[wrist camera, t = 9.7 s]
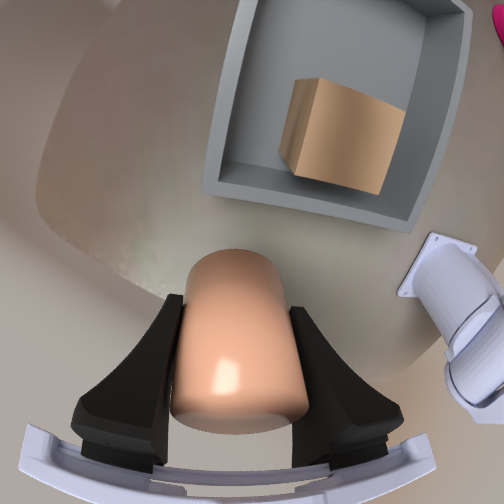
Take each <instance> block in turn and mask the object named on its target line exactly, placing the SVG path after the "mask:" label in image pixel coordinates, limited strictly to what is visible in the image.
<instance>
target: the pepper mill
mask: <svg viewBox="0 0 504 504" xmlns="http://www.w3.org/2000/svg"><path fill="white" fill-rule="evenodd" d="M493 20H494V24H495V28H496V31H497V33H498V35H499V38H500V40H501V41H502V43H503V45H504V5H496V6H495V7H494V8H493Z"/></svg>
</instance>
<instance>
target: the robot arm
mask: <svg viewBox="0 0 504 504" xmlns="http://www.w3.org/2000/svg"><path fill="white" fill-rule="evenodd" d="M476 251H477V247H476V246H475V245H473V244H470V243H467V242H464V241H461V240H457V239H454V238H451V237H448V236H444V235H441V234H438V233H434V232H432V233H430V234H429V236H428V238H427V240H426V242H425V244H424V246H423V247H422V249H421V251H420V253H419V255H418V257H417V259H416V260H415V262H414V264H413V266H412V267H411V269H410V271H409V273H408V274H407V276H406V278H405V279H404V281H403V283H402V284H401V286H400V288H399V289H398V291H397V294H398V296H401V297H418V298H419V299H420V301H421V302H422V304H423V305H424V307H425V309H426V310H427V312H428V313H429V315H430V317H431V318H432V320H433V321H434V323H435V325H436V326H437V328H438V330H439V331H440V333H441V335H442V336H443V338H444V340H445V342H446V343H447V345H448V347H449V348H448V349H447V350H446V352H445V355H446V357H447V359H448V361H447V363H446V365H445V370H444V373H445V382H446V386H447V389H448V391H449V393H450V395H451V396H452V397H453V399H454V400H455V401H456V402H457V403H458V404H459V405H461V406H462V407H464V408H465V409H466V410H467V412H468V413H469V414H470V415H471V417H472V418H473V420H474V422H475V423H478V424H503V425H504V387H502V388H501V389H499V390H497V389H498V388H499V387H500V386H501V385H503V384H504V292H503V289H502V287H501V285H500V283H499V282H498V281H497V280H496V279H495V277H494V276H493V275H492V274H491V273H490V272H489V271H488V269H487V268H486V267H485V266H484V265H483V264H482V263H481V262H480V261H479V260H478V259H477V257H476V256H475V255H474V254H475V252H476ZM182 308H183V295H177V294H169V295H168V296H167V298H166V300H165V303H164V305H163V306H162V308H161V310H160V312H159V313H158V315H157V317H156V318H155V320H154V321H153V323H152V324H151V326H150V328H149V329H148V330H147V332H146V333H145V334H144V336H143V337H142V339H141V340H140V341H139V343H138V344H137V345H136V347H135V348H134V349H133V350H132V351H131V352H130V354H129V355H128V356H127V357H126V358H125V359H124V360H123V361H122V362H121V363H120V364H119V366H117V367H116V369H114V370H113V371H112V372H111V373H110V374H109V375H108V376H107V377H106V378H104V379H103V380H102V381H101V382H100V383H99V384H97V386H95V387H94V388H92V389H91V390H90V391H88V392H87V393H86V394H84V395H83V396H81V397H80V399H79V401H78V403H77V405H76V408H75V410H74V413H73V417H72V422H71V428H72V430H73V431H74V432H75V433H76V434H78V435H79V436H80V437H81V438H82V439H83V443H82V447H79V446H76V445H73V444H70V443H68V442H65V441H62V440H60V439H58V437H56V436H55V435H53V434H52V433H50V432H48V431H45V430H43V429H41V428H39V427H36V426H34V425H32V424H28V425H27V429H26V433H25V437H24V442H23V446H22V451H21V456H20V462H19V467H18V468H19V470H20V471H22V472H24V473H26V474H28V475H29V476H31V477H33V478H35V479H37V480H39V481H41V482H43V483H46V484H48V485H50V486H52V487H54V488H56V489H58V490H61V491H63V492H65V493H68V494H70V495H72V496H75V497H77V498H80V499H83V500H86V501H88V502H91V503H94V504H360V503H363V502H366V501H368V500H371V499H374V498H376V497H379V496H381V495H383V494H386V493H388V492H390V491H392V490H395V489H397V488H399V487H401V486H403V485H406V484H408V483H410V482H412V481H414V480H416V479H417V478H420V477H422V476H424V475H425V474H427V473H429V472H431V471H433V470H435V469H436V468H437V466H436V463H435V459H434V456H433V453H432V450H431V447H430V444H429V441H428V438H427V435H426V433H422V434H419V435H416V436H414V437H411V438H409V439H407V440H405V441H403V442H402V443H401V444H399V445H396V446H393V447H390V448H387V446H386V441H388V436H387V434H388V433H390V432H392V431H393V430H395V429H396V428H398V427H399V426H400V425H401V424H402V423H403V422H404V418H403V415H402V412H401V410H400V407H399V405H398V404H396V403H395V402H393V401H391V400H389V399H388V398H386V397H385V396H383V395H382V394H380V393H379V392H378V391H376V390H375V389H374V388H372V387H371V386H370V385H368V384H367V383H366V382H365V381H364V380H363V379H361V378H360V377H359V376H358V375H357V374H356V373H355V372H354V371H353V370H352V369H351V368H350V367H349V366H348V365H347V364H346V363H345V362H344V361H343V360H342V359H341V358H340V356H339V355H338V354H337V353H336V352H335V350H334V349H333V348H332V347H331V345H330V344H329V343H328V341H327V340H326V339H325V337H324V336H323V335H322V333H321V332H320V330H319V329H318V327H317V326H316V325H315V323H314V322H313V320H312V319H311V317H310V316H309V314H308V313H307V311H306V310H305V309H304V307H296V306H291V309H290V311H289V314H290V319H291V323H292V328H293V332H294V337H295V341H296V346H297V350H298V355H299V359H300V364H301V369H302V373H303V378H304V383H305V388H306V392H307V397H308V402H309V409H308V411H307V412H306V413H305V415H304V416H302V417H301V418H300V419H298V420H297V421H295V422H293V423H292V439H293V440H292V441H293V445H292V446H293V447H292V468H290V469H280V470H267V471H244V472H243V471H230V472H229V471H203V470H190V469H180V468H171V467H164V465H165V464H166V463H167V462H168V461H167V460H168V454H167V453H168V424H169V408H170V395H171V386H172V381H173V373H174V364H175V356H176V348H177V341H178V334H179V327H180V321H181V315H182ZM496 390H497V391H496ZM327 476H328V477H327ZM322 477H327V478H326V479H322V480H318V481H313V482H310V483H308V484H305V485H302V486H298V487H295V493H289V494H280V495H269V496H255V497H194V496H193V497H192V496H187V491H186V490H185V488H184V487H183V486H177V485H171V484H165V483H159V482H153V481H151V480H150V479H153V480H159V481H166V482H174V483H183V484H194V485H210V486H250V485H251V486H253V485H269V484H281V483H289V482H297V481H304V480H311V479H316V478H322Z"/></svg>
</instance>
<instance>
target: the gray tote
mask: <svg viewBox="0 0 504 504" xmlns="http://www.w3.org/2000/svg"><path fill="white" fill-rule="evenodd" d="M472 16H473V11H472V10H471V9H470V8H469V7H468V6H466V5H465V4H464V3H463V2H462V1H461V0H240V2H239V6H238V9H237V13H236V16H235V20H234V24H233V28H232V32H231V36H230V40H229V44H228V48H227V52H226V56H225V60H224V65H223V69H222V74H221V78H220V83H219V88H218V93H217V97H216V102H215V108H214V113H213V118H212V123H211V129H210V135H209V140H208V146H207V152H206V158H205V165H204V171H203V178H202V185H201V192H200V194H205V195H212V196H219V197H226V198H232V199H239V200H245V201H251V202H258V203H264V204H269V205H275V206H281V207H286V208H292V209H297V210H303V211H308V212H313V213H318V214H323V215H328V216H333V217H338V218H343V219H348V220H352V221H357V222H361V223H366V224H370V225H375V226H379V227H383V228H388V229H392V230H396V231H400V232H404V233H408V234H411V232H412V230H413V228H414V226H415V224H416V222H417V219H418V217H419V215H420V213H421V211H422V208H423V206H424V204H425V201H426V199H427V197H428V194H429V192H430V189H431V187H432V185H433V182H434V179H435V177H436V174H437V172H438V169H439V166H440V164H441V161H442V158H443V155H444V152H445V149H446V146H447V143H448V140H449V137H450V134H451V130H452V127H453V123H454V120H455V116H456V113H457V109H458V105H459V101H460V97H461V92H462V88H463V83H464V78H465V73H466V67H467V61H468V55H469V48H470V40H471V30H472ZM310 78H322V79H325V80H328V81H331V82H334V83H337V84H340V85H343V86H346V87H348V88H351V89H354V90H356V91H359V92H362V93H364V94H367V95H369V96H372V97H374V98H376V99H379V100H381V101H383V102H385V103H388V104H390V105H392V106H394V107H396V108H398V109H401V110H403V111H405V112H406V113H405V117H404V121H403V124H402V127H401V131H400V134H399V137H398V140H397V144H396V147H395V150H394V153H393V156H392V159H391V162H390V165H389V168H388V170H387V173H386V176H385V179H384V182H383V184H382V187H381V190H380V192H379V195H376V194H372V193H369V192H365V191H361V190H357V189H354V188H350V187H346V186H342V185H337V184H333V183H329V182H325V181H320V180H316V179H311V178H307V177H302V176H297V175H294V173H293V172H292V170H291V169H290V167H289V166H288V165H287V163H286V162H285V160H284V159H283V157H282V156H281V154H280V153H279V152H278V150H279V146H280V142H281V138H282V134H283V129H284V125H285V121H286V117H287V113H288V109H289V104H290V100H291V96H292V92H293V88H294V84H295V80H298V79H310Z"/></svg>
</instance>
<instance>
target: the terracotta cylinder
mask: <svg viewBox="0 0 504 504" xmlns="http://www.w3.org/2000/svg"><path fill="white" fill-rule="evenodd" d="M308 409H309V402H308V397H307V392H306V388H305V383H304V378H303V373H302V369H301V364H300V359H299V355H298V350H297V346H296V341H295V337H294V332H293V328H292V323H291V319H290V314H289V310H288V306H287V301H286V297H285V293H284V288H283V284H282V280H281V276H280V273H279V271H278V269H277V268H276V266H275V265H274V264H273V263H272V262H271V261H270V260H268V259H267V258H265V257H264V256H262V255H260V254H258V253H255V252H252V251H248V250H243V249H227V250H221V251H217V252H214V253H211V254H209V255H207V256H205V257H203V258H202V259H201V260H199V261H198V262H197V263H196V264H195V265H194V266H193V268H192V269H191V271H190V273H189V275H188V278H187V283H186V289H185V295H184V301H183V308H182V315H181V321H180V327H179V334H178V341H177V348H176V356H175V364H174V373H173V381H172V391H171V401H170V413H171V415H172V416H173V417H174V418H175V419H176V420H177V421H179V422H180V423H182V424H184V425H186V426H188V427H191V428H194V429H197V430H201V431H205V432H211V433H218V434H234V435H235V434H236V435H237V434H253V433H260V432H266V431H270V430H274V429H278V428H281V427H284V426H286V425H289V424H291V423H293V422H295V421H297V420H298V419H300V418H301V417H302V416H304V415H305V413H306V412H307V411H308Z"/></svg>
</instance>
